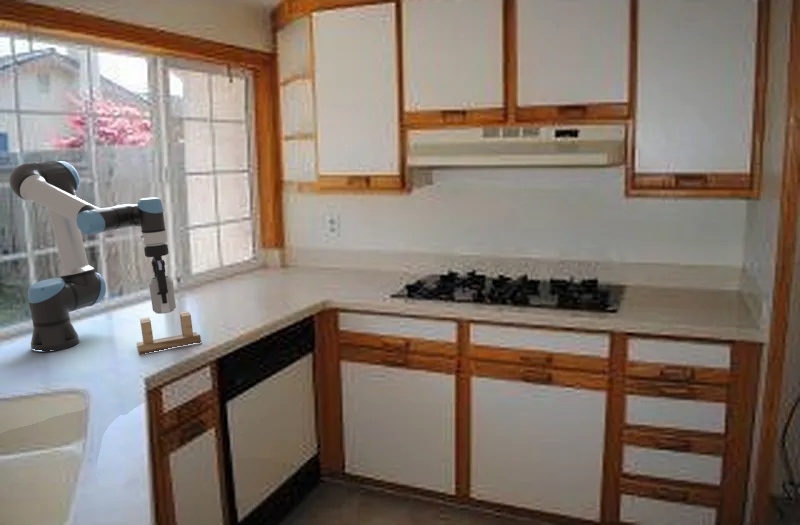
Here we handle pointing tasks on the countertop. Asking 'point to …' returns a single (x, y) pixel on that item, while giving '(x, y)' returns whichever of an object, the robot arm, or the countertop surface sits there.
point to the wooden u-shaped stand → (167, 342)
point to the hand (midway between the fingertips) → (164, 309)
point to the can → (155, 298)
